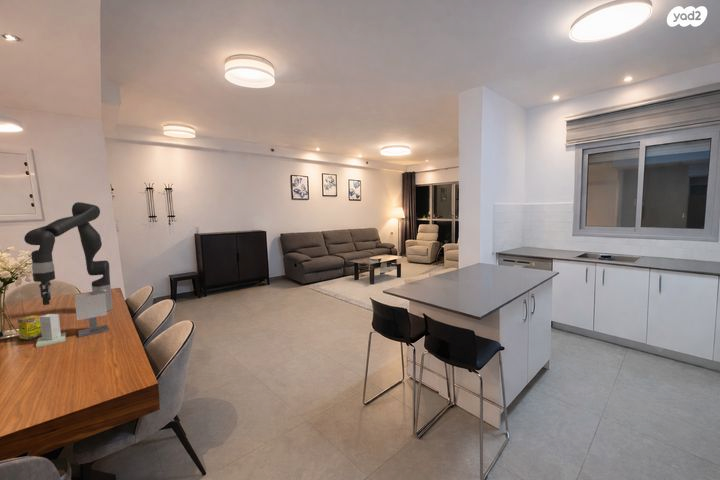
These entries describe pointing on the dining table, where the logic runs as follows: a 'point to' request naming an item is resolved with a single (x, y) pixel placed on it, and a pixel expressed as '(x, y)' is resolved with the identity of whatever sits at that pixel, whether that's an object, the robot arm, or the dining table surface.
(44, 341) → the mat
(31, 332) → the supplement box
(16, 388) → the dining table surface
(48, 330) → the skincare box
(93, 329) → the block
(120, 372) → the dining table surface
